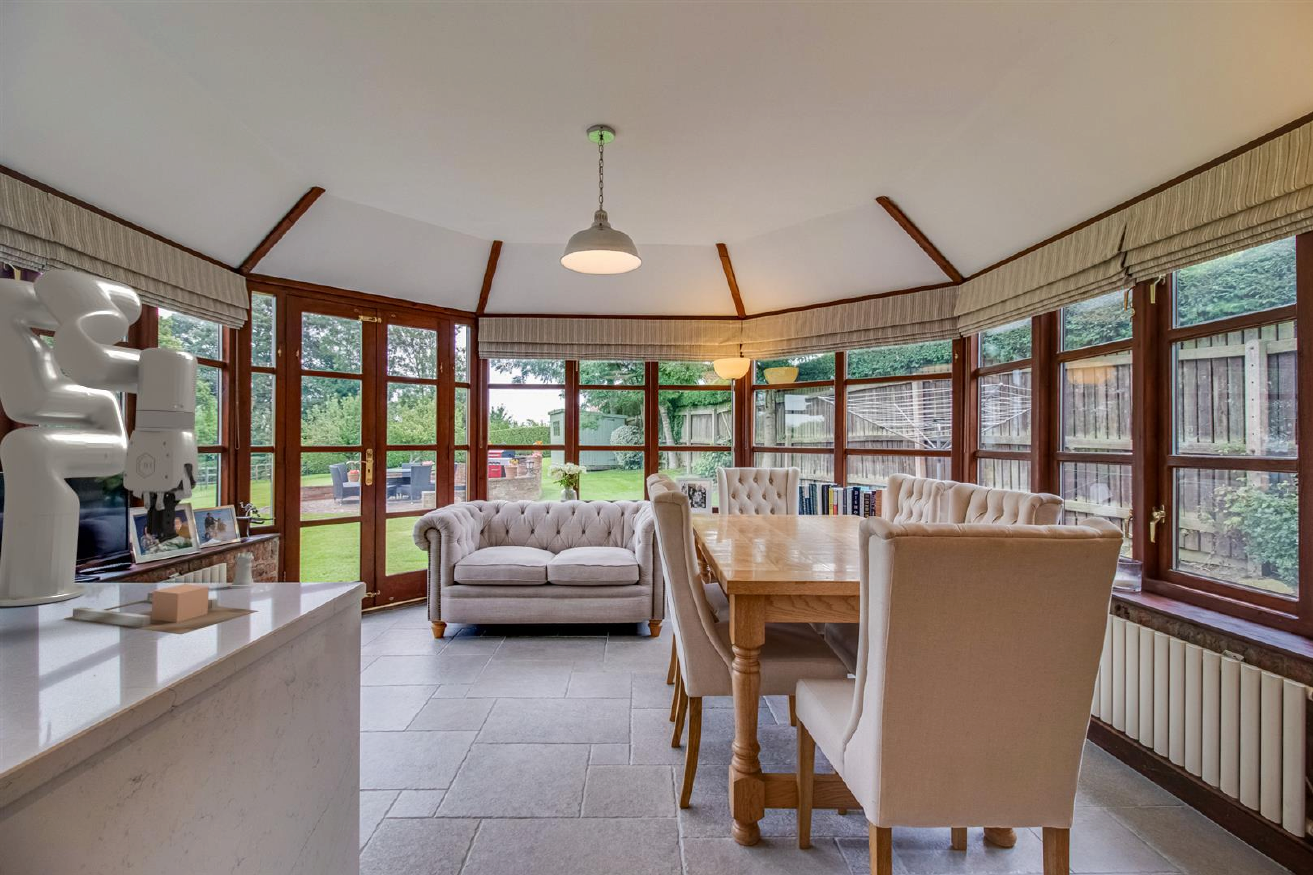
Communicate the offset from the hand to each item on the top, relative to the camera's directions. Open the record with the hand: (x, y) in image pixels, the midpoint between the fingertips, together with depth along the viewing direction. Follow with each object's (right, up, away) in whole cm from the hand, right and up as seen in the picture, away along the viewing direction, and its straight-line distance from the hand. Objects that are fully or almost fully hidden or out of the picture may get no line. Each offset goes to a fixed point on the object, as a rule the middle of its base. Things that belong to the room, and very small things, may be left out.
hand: (160, 533), depth 95 cm
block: (+4, -13, -1) cm, 14 cm away
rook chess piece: (0, -16, +19) cm, 25 cm away
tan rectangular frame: (+1, -15, -1) cm, 15 cm away
